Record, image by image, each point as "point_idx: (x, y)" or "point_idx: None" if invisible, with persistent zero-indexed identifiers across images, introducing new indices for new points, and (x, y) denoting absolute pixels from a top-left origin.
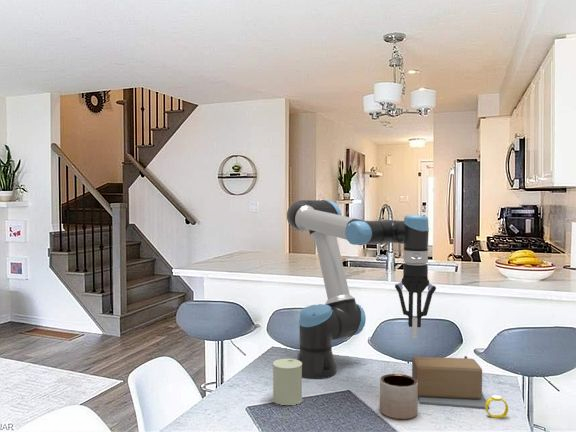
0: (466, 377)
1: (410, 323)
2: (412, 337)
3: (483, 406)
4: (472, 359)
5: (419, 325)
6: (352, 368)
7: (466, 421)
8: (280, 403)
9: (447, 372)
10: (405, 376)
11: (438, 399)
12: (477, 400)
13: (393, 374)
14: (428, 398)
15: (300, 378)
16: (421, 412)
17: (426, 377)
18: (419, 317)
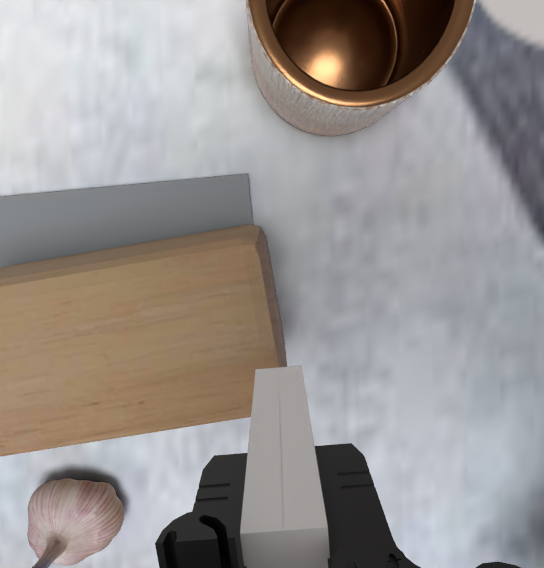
0: (3, 274)
1: (342, 476)
2: (298, 367)
3: None
4: None
5: (219, 469)
6: (532, 481)
7: (54, 41)
8: None
9: (89, 261)
10: (321, 82)
11: (171, 223)
12: (18, 259)
13: (395, 86)
14: (212, 222)
15: None
16: (236, 82)
17: (209, 238)
18: (195, 520)
